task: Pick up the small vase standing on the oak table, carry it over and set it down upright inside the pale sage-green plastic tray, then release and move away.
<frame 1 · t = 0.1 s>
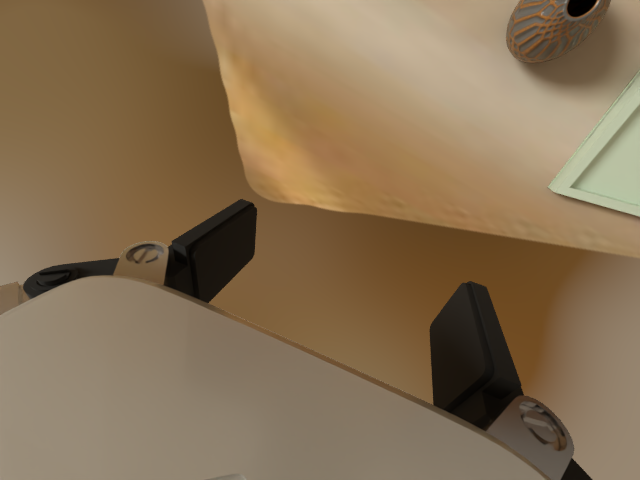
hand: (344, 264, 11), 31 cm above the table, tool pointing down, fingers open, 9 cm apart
vase: (537, 26, 26), on the table
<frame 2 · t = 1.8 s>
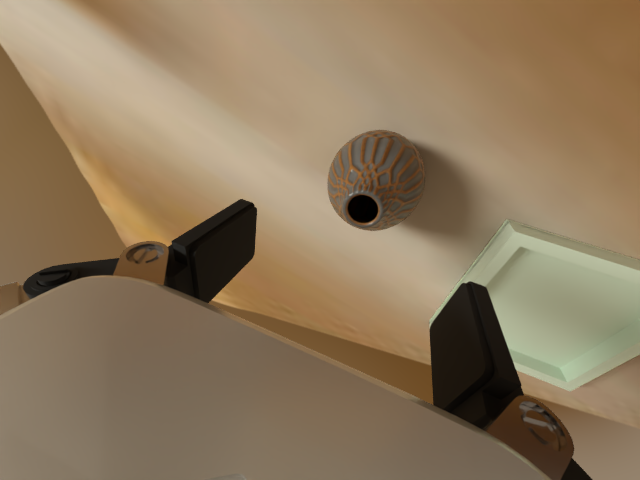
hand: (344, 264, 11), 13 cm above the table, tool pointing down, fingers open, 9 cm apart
tray: (537, 305, 23), on the table
vase: (380, 167, 21), on the table
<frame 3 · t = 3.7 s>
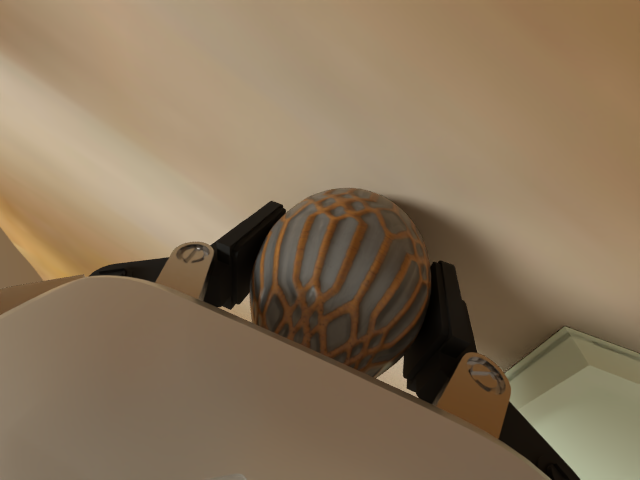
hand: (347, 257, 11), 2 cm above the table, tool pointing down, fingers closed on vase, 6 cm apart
tray: (602, 441, 15), on the table
vase: (358, 232, 13), on the table, touching gripper
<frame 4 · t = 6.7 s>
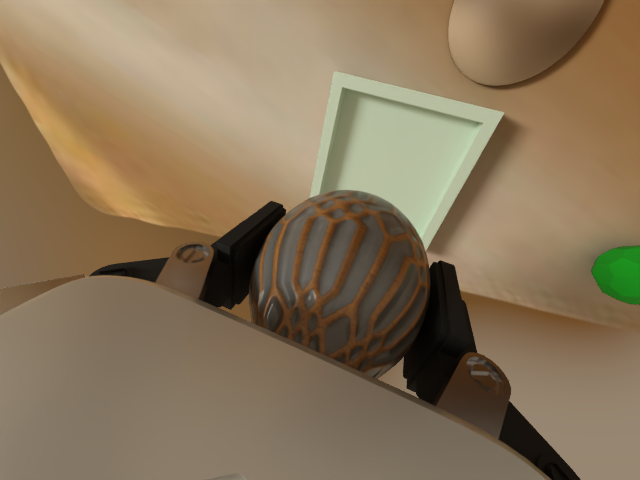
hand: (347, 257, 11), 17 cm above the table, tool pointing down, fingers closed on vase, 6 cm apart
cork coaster: (519, 10, 17), on the table
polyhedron: (615, 258, 23), on the table
tray: (386, 167, 25), on the table
vase: (358, 234, 13), point 15 cm above the table, touching gripper
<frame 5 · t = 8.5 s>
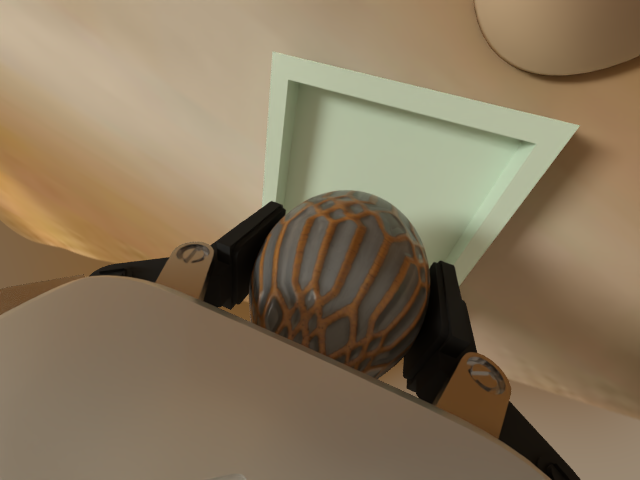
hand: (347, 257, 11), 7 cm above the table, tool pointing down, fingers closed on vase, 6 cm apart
tray: (369, 203, 17), on the table
vase: (358, 234, 13), point 4 cm above the table, touching gripper
when the fingers open (4 cm above the table, at t = 10.0 s): vase drops 1 cm, resting on tray.
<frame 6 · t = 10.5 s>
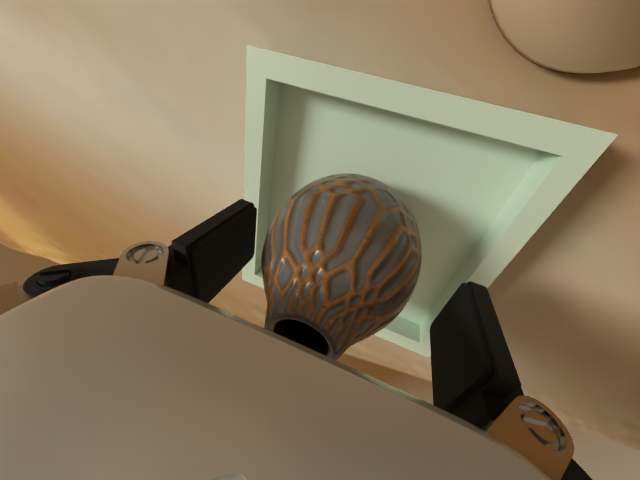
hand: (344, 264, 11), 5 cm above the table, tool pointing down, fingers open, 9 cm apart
tray: (364, 218, 15), on the table
vase: (357, 217, 15), resting on tray
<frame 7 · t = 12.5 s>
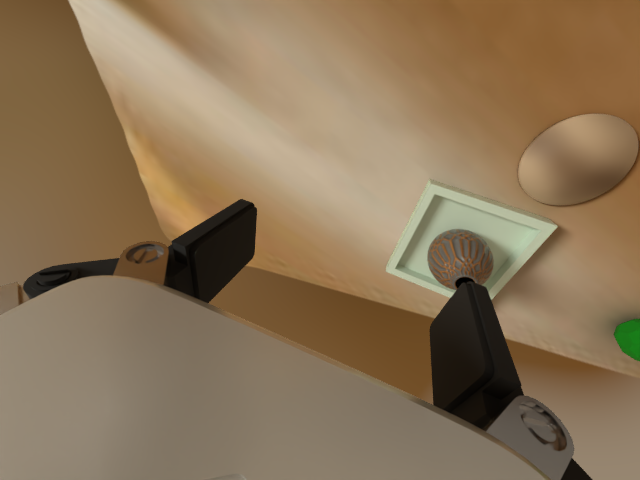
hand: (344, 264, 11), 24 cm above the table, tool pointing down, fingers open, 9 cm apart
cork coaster: (571, 162, 25), on the table
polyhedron: (631, 325, 31), on the table
tray: (456, 244, 33), on the table
vase: (454, 244, 33), resting on tray
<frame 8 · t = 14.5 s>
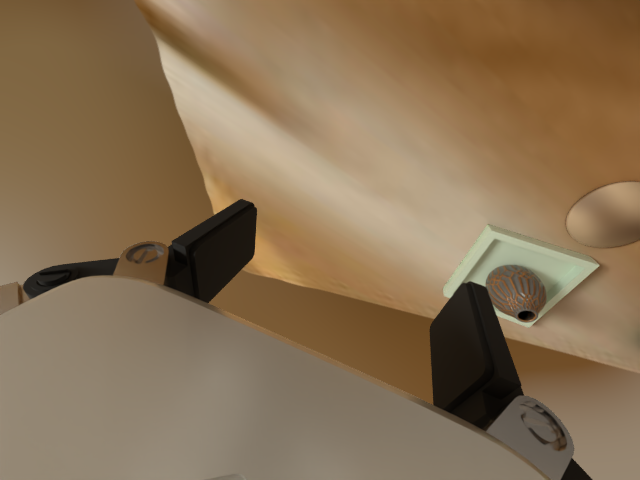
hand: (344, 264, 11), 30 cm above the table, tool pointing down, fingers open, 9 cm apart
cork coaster: (612, 215, 31), on the table
tray: (507, 274, 39), on the table
vase: (506, 274, 39), resting on tray
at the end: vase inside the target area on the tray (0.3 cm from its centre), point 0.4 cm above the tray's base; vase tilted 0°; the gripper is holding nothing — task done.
